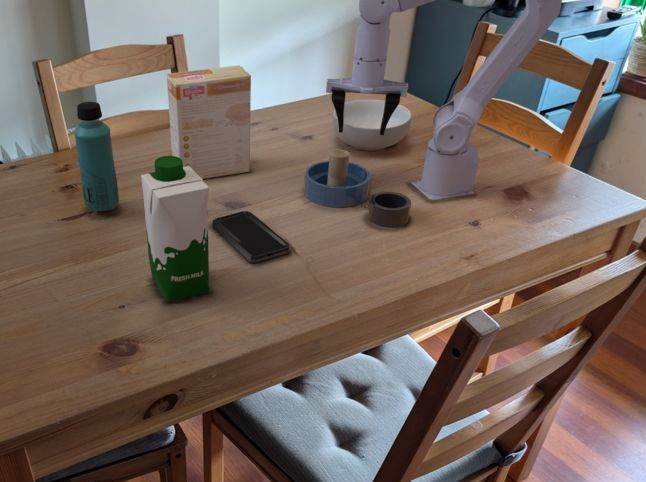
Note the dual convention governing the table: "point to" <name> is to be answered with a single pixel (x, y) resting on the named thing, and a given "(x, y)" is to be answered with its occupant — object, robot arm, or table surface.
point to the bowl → (336, 196)
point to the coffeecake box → (211, 119)
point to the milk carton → (177, 229)
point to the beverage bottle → (96, 159)
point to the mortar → (389, 209)
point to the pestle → (338, 168)
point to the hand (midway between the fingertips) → (361, 132)
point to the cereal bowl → (371, 125)
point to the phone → (250, 236)
